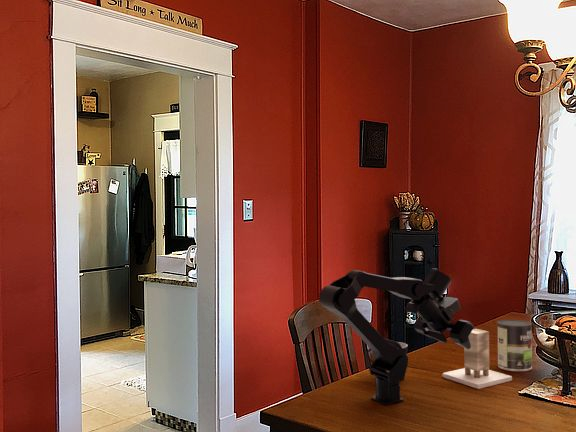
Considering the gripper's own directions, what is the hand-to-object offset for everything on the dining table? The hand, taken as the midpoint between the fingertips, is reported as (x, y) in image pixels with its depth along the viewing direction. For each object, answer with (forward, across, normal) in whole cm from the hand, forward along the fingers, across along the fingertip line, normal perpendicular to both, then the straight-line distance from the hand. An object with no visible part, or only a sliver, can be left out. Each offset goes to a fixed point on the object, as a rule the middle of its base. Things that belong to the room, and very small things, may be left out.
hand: (457, 344), depth 184 cm
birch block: (+11, 0, 0) cm, 11 cm away
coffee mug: (0, +16, +17) cm, 23 cm away
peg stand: (+13, 0, +2) cm, 14 cm away
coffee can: (+27, +2, -11) cm, 29 cm away
